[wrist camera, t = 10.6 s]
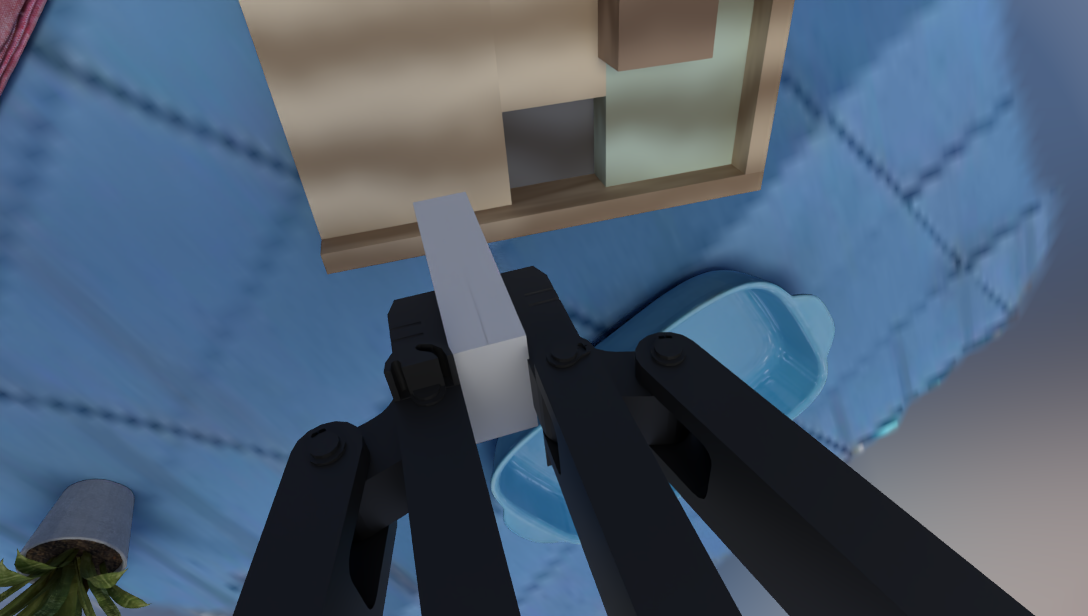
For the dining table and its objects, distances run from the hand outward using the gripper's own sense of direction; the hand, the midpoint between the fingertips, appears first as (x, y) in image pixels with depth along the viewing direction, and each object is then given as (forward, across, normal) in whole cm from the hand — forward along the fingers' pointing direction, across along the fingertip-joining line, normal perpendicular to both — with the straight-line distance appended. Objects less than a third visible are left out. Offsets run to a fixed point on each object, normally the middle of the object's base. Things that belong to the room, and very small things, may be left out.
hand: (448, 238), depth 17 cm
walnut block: (+21, +16, +1) cm, 26 cm away
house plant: (+25, -34, -31) cm, 52 cm away
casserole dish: (+24, +17, -36) cm, 47 cm away
